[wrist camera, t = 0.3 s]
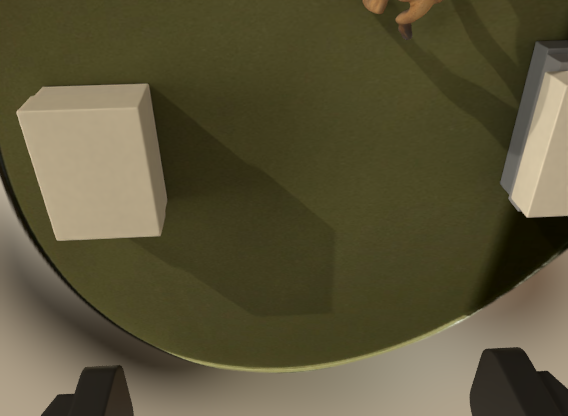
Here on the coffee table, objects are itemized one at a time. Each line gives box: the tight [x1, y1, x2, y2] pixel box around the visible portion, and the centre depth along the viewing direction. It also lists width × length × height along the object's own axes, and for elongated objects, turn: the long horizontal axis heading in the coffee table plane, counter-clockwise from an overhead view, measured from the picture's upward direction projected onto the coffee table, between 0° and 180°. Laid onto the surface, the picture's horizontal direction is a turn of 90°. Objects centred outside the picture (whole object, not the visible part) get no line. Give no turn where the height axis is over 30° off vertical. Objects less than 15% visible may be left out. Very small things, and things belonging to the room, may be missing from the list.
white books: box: [17, 84, 167, 241], centre depth 30 cm, size 8×6×4 cm
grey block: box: [500, 40, 568, 211], centre depth 31 cm, size 10×4×3 cm, turn 1°
